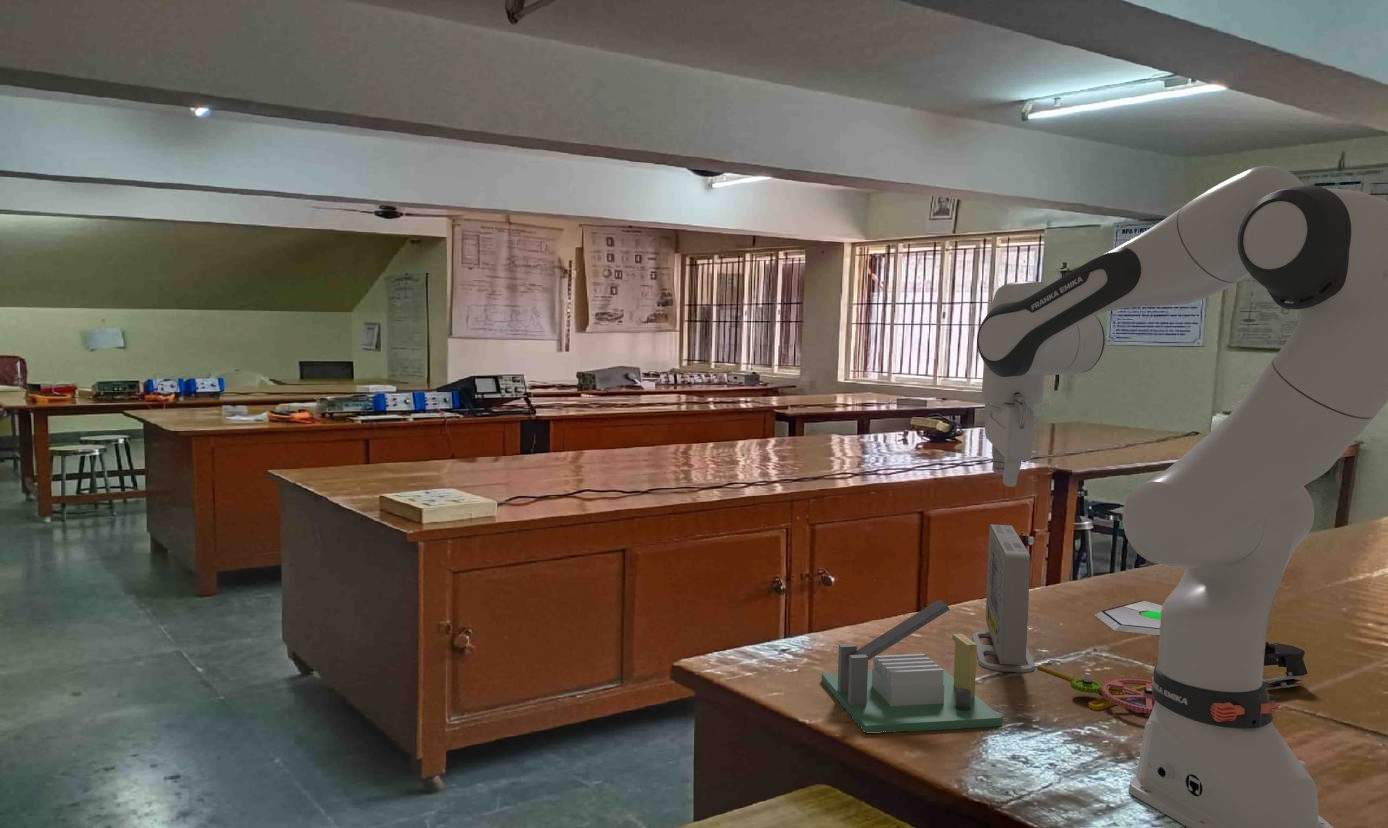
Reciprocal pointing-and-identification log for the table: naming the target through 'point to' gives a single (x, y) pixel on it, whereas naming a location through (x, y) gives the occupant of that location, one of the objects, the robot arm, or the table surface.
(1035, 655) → the table surface
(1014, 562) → the network device
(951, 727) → the board
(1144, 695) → the mechanical gear assembly
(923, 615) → the strap
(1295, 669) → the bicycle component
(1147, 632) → the security device
